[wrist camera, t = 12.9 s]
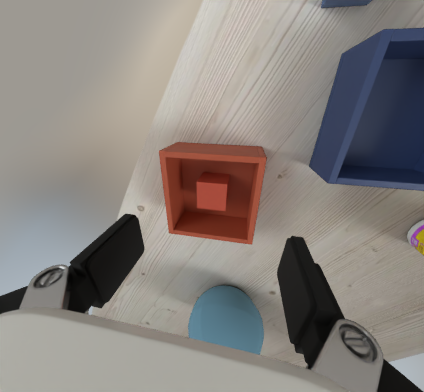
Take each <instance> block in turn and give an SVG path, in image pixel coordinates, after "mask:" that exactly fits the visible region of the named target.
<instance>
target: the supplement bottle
mask: <svg viewBox="0 0 424 392" xmlns="http://www.w3.org/2000/svg"><path fill="white" fill-rule="evenodd" d="M407 239H408V241H409V243H410V244H411V245H412V246H413V247H414V248H415V249H417V250H418V251H419V252H420V253H421V254H423V255H424V220H422V221H420V222H418V223H416V224H415V225H414V226H413V227H412V228H411V229H410V230H409V232H408V235H407Z"/></svg>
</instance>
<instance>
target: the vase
mask: <svg viewBox="0 0 424 392" xmlns="http://www.w3.org/2000/svg"><path fill="white" fill-rule="evenodd" d="M188 330H189V338H192V339H196V340H201V341H205V342H209V343H213V344H217V345H221V346H225V347H230V348H234V349H238V350H242V351H246V352H250V353H254V354H258V355H260V351H261V348H262V344H263V339H264V329H263V323H262V318H261V316H260V314H259V311H258V310H257V308H256V307H255V305H254V304H253V302H252V300H251V299H250V297H249V296H248V295H246V294H245V293H244V292H242V291H241V290H240V289H238V288H235V287H232V286H225V285H221V286H216V287H212V288H211V289H209V290H207V291H206V292H204V293H203V294H202V295H201V296H200V297H199V299H198V300H197V301H196V303H195V305H194V308H193V310H192V313H191V316H190V320H189V325H188Z"/></svg>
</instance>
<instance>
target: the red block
mask: <svg viewBox="0 0 424 392" xmlns="http://www.w3.org/2000/svg"><path fill="white" fill-rule="evenodd" d="M229 178H230V174H223V173H210V172H203V173H202V175H201V176H200V178H199V179H198V181H197V208H201V209H210V210H219V211H226V206H227V201H228V192H229Z"/></svg>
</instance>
